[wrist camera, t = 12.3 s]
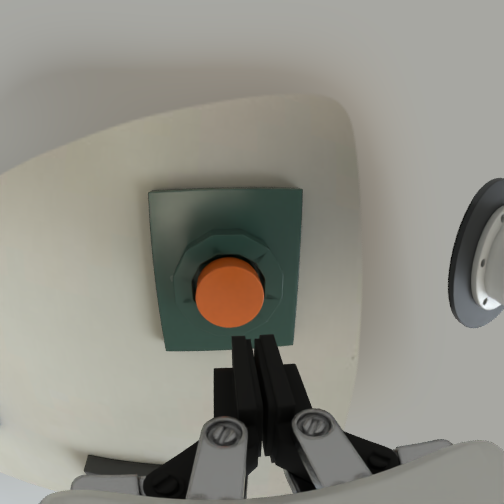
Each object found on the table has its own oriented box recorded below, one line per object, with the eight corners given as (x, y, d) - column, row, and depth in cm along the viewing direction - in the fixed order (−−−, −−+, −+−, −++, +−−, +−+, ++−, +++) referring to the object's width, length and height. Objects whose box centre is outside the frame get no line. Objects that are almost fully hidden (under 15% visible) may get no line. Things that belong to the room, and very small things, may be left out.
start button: (260, 255, 18) (265, 264, 16) (259, 312, 19) (263, 326, 17) (194, 257, 17) (193, 267, 16) (199, 315, 19) (198, 329, 17)
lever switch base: (188, 465, 28) (188, 485, 24) (198, 494, 30) (199, 510, 27) (88, 454, 26) (83, 471, 23) (112, 486, 29) (109, 501, 26)
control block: (297, 187, 20) (311, 191, 17) (289, 337, 23) (299, 358, 20) (151, 190, 18) (141, 195, 16) (167, 343, 22) (162, 365, 19)
